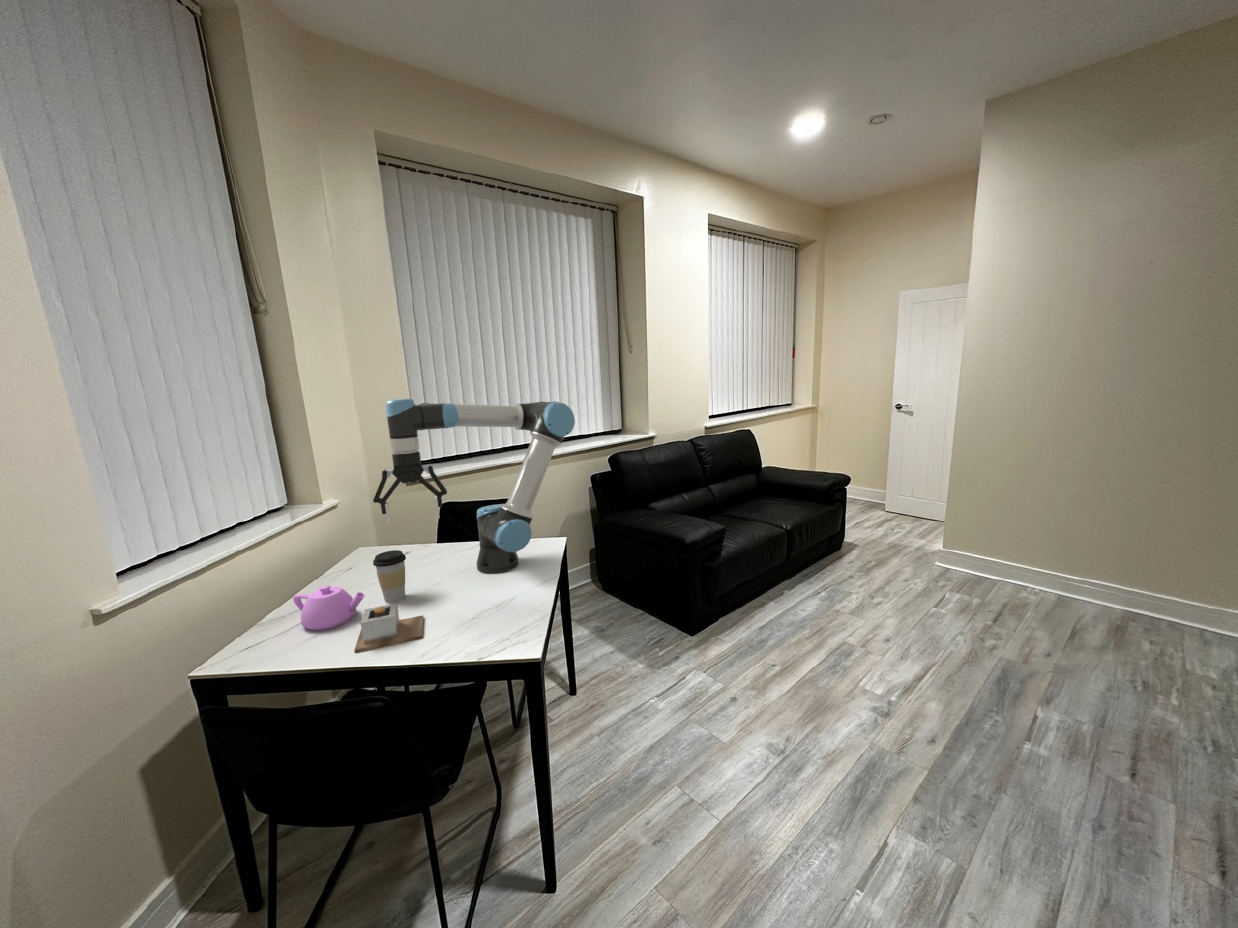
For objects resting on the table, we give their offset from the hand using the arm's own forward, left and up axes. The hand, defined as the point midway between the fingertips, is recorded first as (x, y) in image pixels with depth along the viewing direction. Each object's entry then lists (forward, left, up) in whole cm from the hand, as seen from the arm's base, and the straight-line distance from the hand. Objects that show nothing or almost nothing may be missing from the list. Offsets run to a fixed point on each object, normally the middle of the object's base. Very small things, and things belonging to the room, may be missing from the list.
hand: (414, 520), depth 139 cm
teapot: (+25, 0, -27) cm, 37 cm away
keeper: (+8, +17, -27) cm, 32 cm away
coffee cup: (+9, -7, -27) cm, 29 cm away
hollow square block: (+10, +16, -26) cm, 32 cm away
